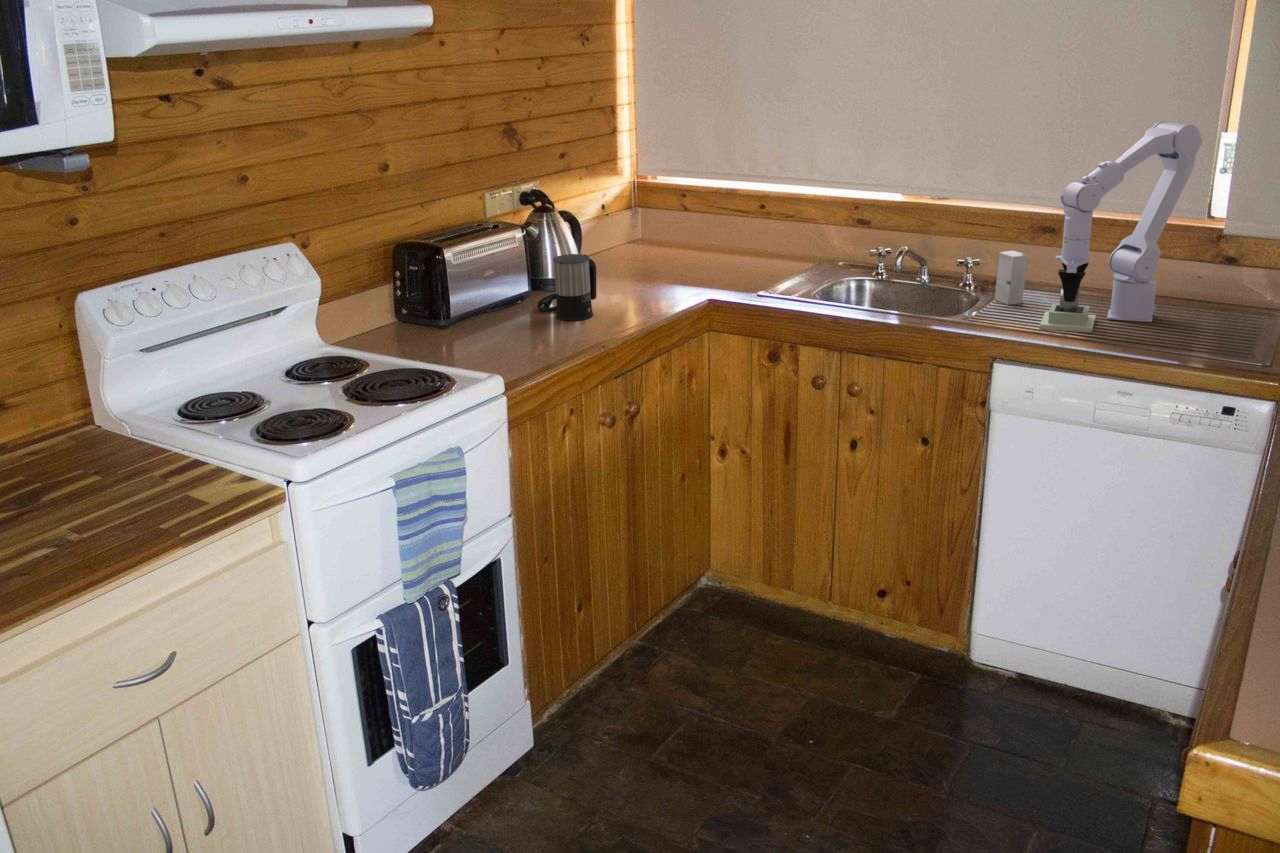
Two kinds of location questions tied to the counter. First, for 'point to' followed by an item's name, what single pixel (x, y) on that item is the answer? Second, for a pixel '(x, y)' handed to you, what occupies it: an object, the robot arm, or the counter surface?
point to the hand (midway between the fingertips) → (1070, 297)
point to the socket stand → (1068, 320)
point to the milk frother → (572, 288)
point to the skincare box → (1011, 277)
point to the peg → (1069, 304)
